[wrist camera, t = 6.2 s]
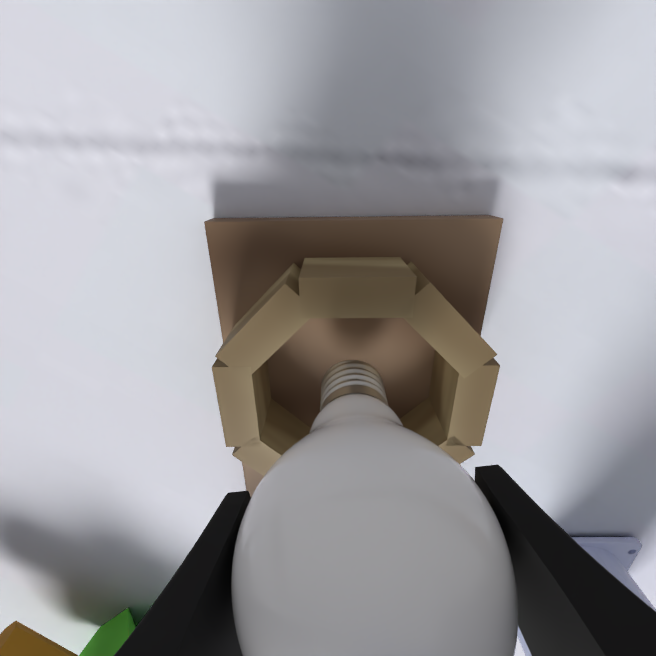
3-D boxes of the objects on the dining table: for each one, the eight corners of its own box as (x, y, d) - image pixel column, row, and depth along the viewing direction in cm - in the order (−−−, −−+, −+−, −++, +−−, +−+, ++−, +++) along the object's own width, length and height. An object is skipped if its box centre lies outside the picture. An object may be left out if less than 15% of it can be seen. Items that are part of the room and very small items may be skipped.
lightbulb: (327, 450, 17) (320, 840, 7) (252, 356, 15) (90, 736, 5) (444, 398, 16) (641, 797, 6) (381, 285, 13) (525, 619, 3)
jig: (434, 524, 23) (455, 594, 19) (258, 524, 23) (243, 594, 19) (490, 215, 15) (547, 229, 11) (213, 218, 15) (172, 233, 11)
